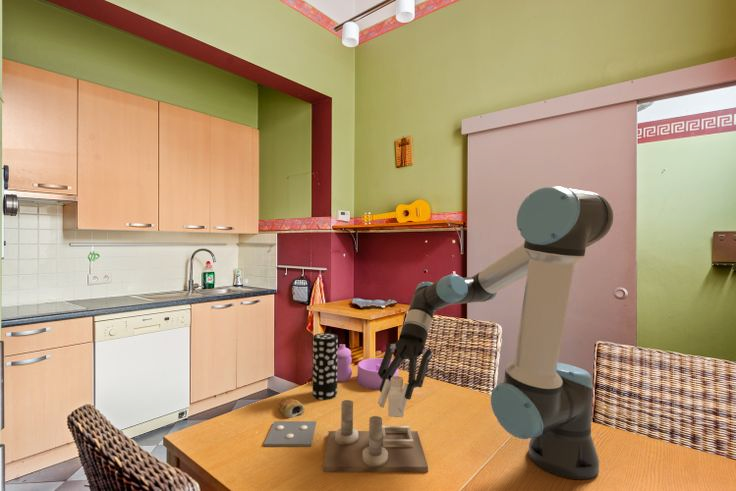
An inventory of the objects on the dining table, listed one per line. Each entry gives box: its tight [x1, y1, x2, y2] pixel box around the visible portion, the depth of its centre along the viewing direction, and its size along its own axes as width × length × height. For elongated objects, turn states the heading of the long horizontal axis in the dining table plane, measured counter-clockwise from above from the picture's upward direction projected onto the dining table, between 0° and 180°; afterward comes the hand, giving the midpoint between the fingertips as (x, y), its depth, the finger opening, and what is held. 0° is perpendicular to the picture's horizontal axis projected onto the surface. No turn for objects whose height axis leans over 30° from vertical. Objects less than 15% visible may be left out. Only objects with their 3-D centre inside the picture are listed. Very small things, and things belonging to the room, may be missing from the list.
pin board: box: [322, 399, 429, 473], centre depth 94 cm, size 24×16×11 cm, turn 91°
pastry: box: [278, 398, 306, 419], centre depth 116 cm, size 9×7×4 cm
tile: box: [263, 420, 317, 447], centre depth 102 cm, size 12×12×1 cm
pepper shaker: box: [387, 375, 405, 418], centre depth 99 cm, size 4×4×10 cm
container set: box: [337, 343, 399, 390], centre depth 142 cm, size 25×15×13 cm, turn 83°
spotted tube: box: [312, 332, 339, 401], centre depth 128 cm, size 8×8×20 cm
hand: (390, 407), depth 95 cm, fingers closed on pepper shaker, 5 cm apart
